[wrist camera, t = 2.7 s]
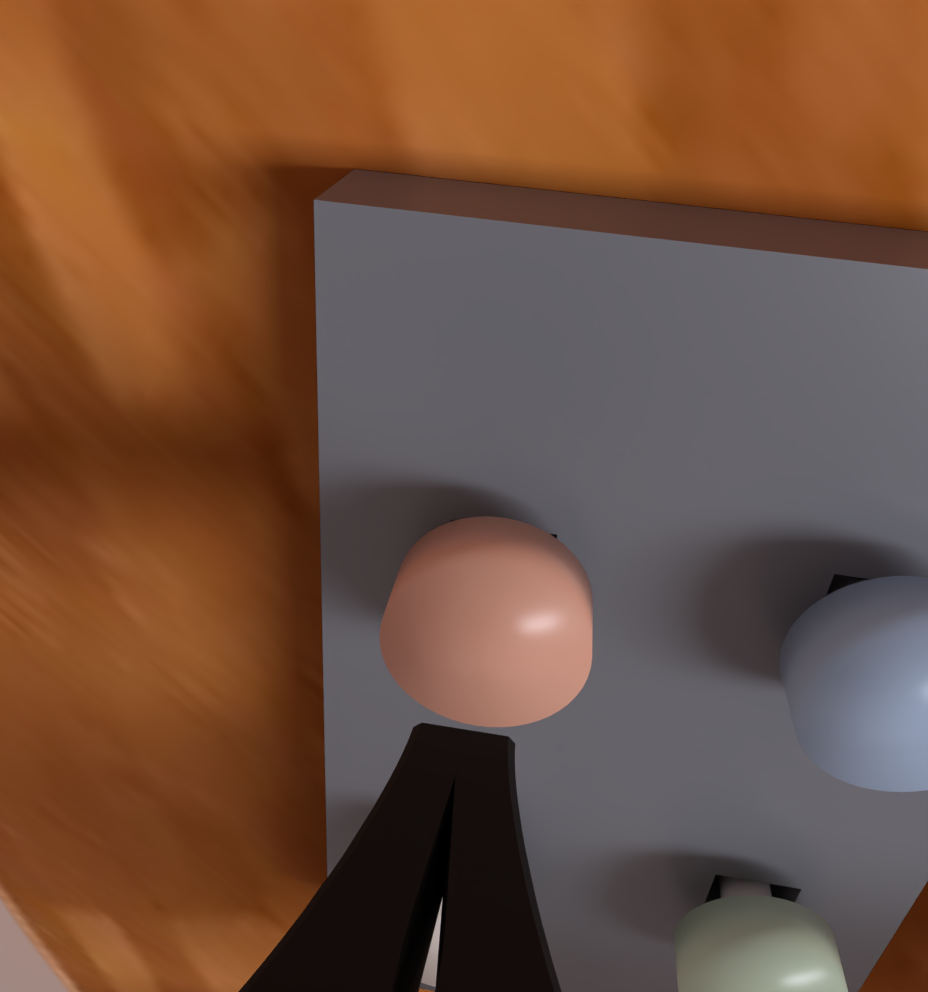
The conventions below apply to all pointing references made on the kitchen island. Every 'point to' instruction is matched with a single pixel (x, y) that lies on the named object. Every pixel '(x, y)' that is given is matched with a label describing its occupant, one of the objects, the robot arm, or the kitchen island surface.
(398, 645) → the terracotta button
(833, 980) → the sage button
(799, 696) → the slate button
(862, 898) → the button panel
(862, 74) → the kitchen island surface
